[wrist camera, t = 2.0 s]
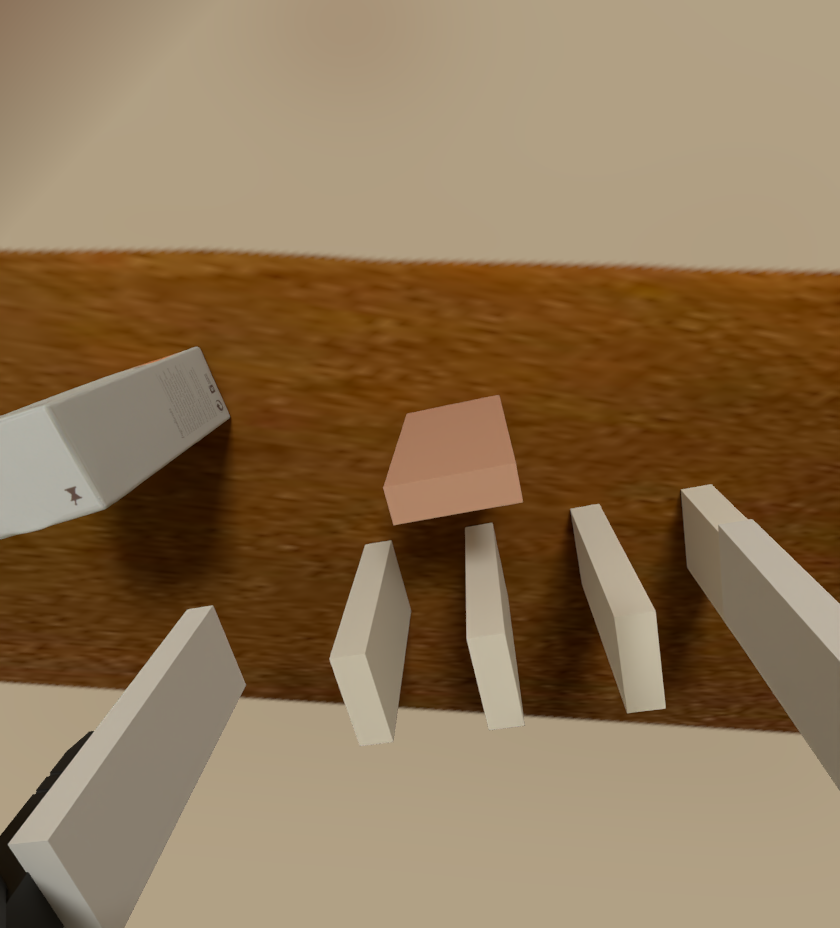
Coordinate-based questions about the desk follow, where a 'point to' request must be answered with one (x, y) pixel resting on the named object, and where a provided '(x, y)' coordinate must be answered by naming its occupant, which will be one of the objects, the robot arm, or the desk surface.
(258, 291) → the desk surface
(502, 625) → the domino
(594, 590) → the domino
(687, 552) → the domino
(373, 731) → the domino
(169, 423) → the skincare box
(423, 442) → the domino
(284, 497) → the desk surface
